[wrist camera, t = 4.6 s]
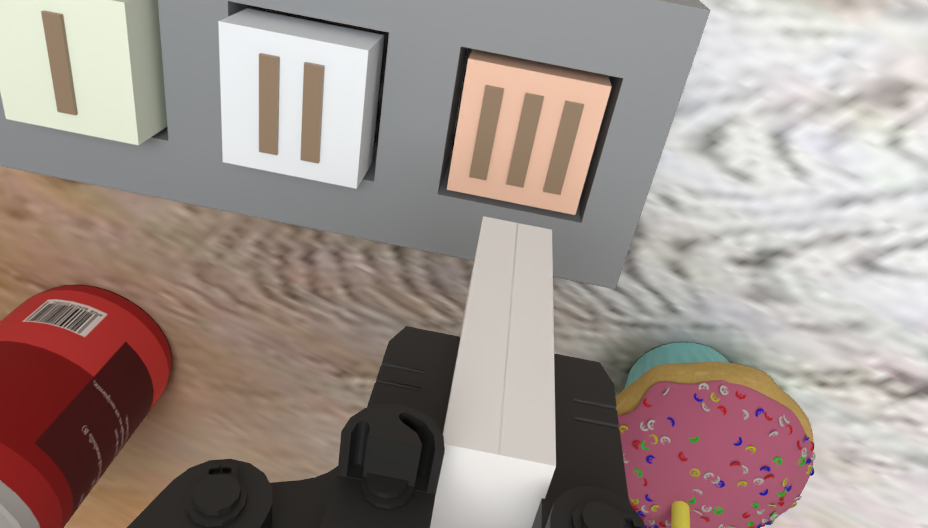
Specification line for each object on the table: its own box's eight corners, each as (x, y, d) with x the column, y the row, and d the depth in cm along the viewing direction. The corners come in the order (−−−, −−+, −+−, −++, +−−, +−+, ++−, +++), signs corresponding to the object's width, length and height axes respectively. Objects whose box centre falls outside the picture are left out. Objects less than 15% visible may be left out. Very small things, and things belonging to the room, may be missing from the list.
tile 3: (454, 165, 25) (445, 191, 23) (475, 43, 23) (467, 59, 21) (573, 189, 25) (575, 216, 23) (606, 68, 23) (611, 87, 21)
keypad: (45, 135, 28) (-11, 163, 25) (-5, -142, 22) (-81, -144, 20) (608, 247, 27) (615, 289, 25) (690, -7, 22) (710, 10, 19)
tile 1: (48, 99, 24) (2, 120, 22) (25, -36, 22) (-28, -27, 20) (170, 124, 24) (136, 146, 22) (161, -9, 22) (121, 3, 20)
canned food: (-7, 311, 33) (-229, 485, 24) (105, 255, 31) (-92, 425, 21) (97, 417, 36) (-62, 608, 27) (208, 375, 34) (75, 569, 24)
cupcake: (626, 464, 34) (660, 726, 23) (555, 342, 30) (557, 584, 20) (802, 415, 31) (928, 688, 20) (745, 274, 27) (861, 515, 17)
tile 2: (248, 139, 24) (220, 163, 22) (247, 8, 22) (216, 22, 20) (371, 164, 24) (355, 190, 22) (384, 35, 22) (367, 51, 20)
